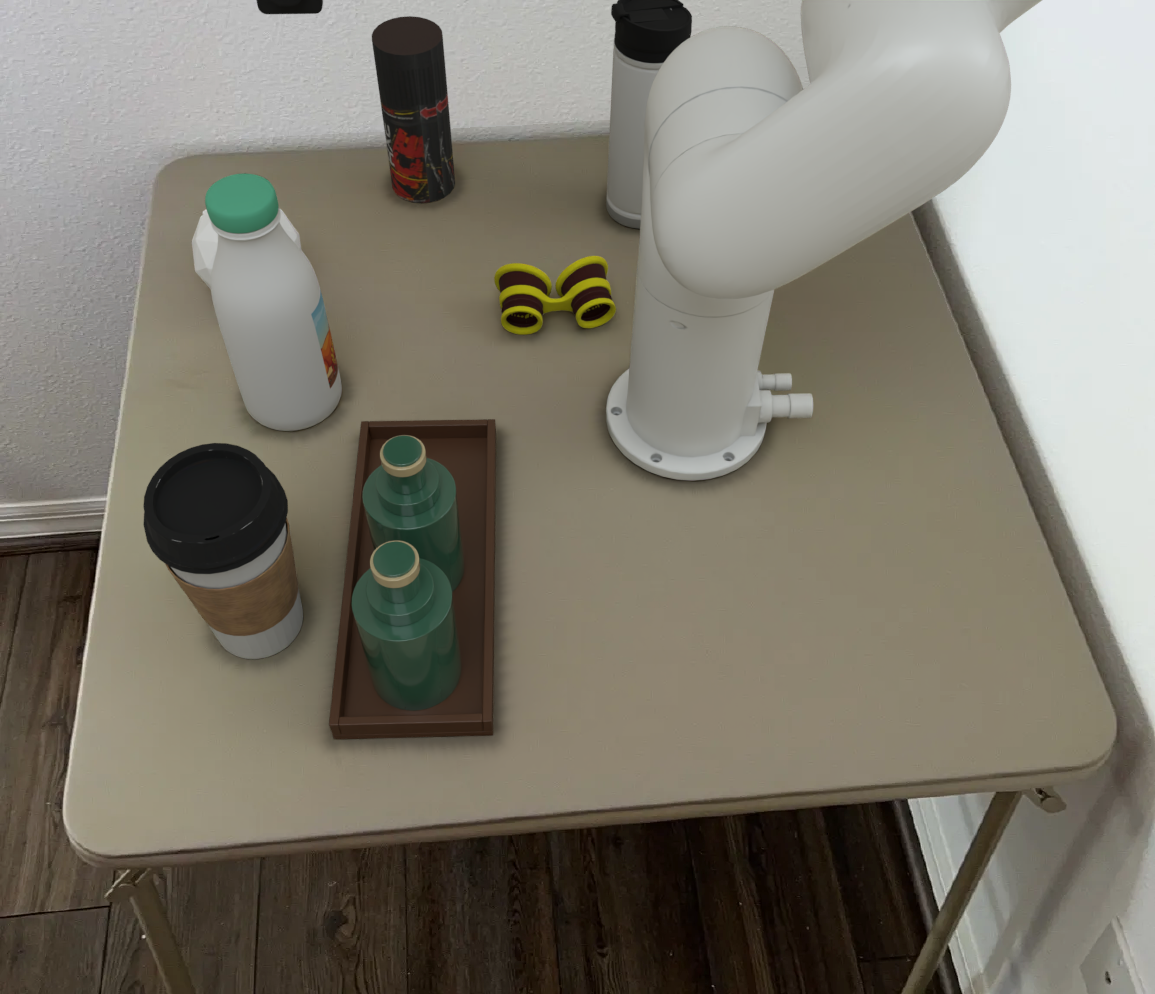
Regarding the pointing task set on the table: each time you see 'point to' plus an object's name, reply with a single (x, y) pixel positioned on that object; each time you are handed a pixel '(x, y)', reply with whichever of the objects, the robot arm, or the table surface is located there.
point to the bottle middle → (415, 505)
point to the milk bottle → (270, 309)
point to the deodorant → (415, 107)
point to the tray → (471, 703)
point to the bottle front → (407, 628)
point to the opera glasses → (575, 285)
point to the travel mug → (637, 93)
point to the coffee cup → (228, 545)
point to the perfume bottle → (208, 242)
